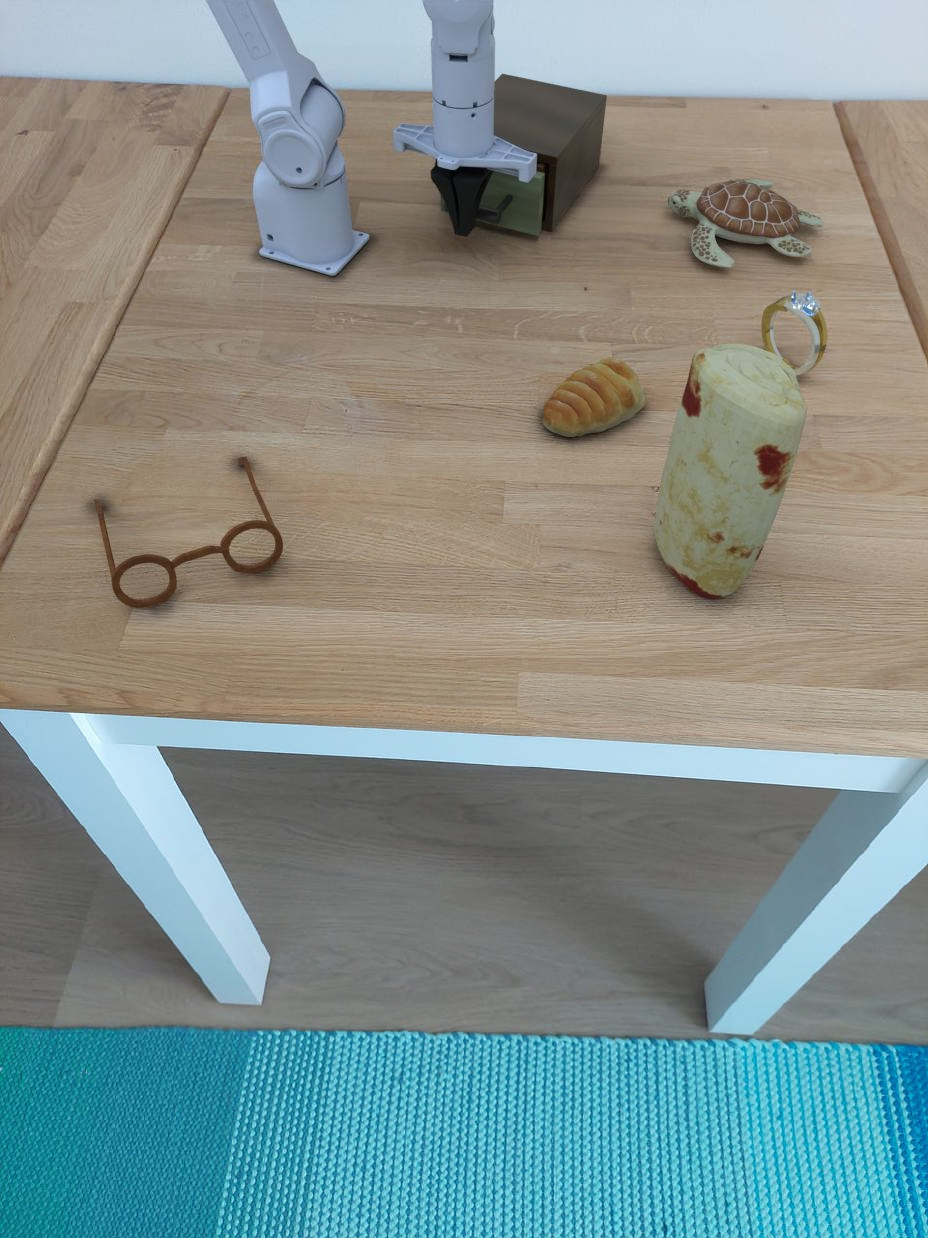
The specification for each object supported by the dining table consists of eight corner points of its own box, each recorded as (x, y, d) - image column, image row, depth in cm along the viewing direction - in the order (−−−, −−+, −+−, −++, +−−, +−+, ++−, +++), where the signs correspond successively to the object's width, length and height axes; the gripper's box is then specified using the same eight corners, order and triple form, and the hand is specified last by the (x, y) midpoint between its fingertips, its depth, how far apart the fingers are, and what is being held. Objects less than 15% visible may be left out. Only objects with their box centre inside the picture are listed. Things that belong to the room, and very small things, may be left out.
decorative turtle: (688, 175, 109) (697, 132, 105) (831, 207, 105) (845, 163, 101) (639, 257, 99) (646, 213, 95) (794, 296, 95) (808, 251, 91)
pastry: (573, 456, 82) (577, 423, 79) (523, 416, 85) (525, 383, 82) (649, 410, 85) (655, 377, 82) (598, 374, 88) (602, 340, 85)
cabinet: (551, 231, 103) (557, 156, 96) (447, 205, 106) (445, 131, 99) (599, 167, 110) (607, 94, 104) (500, 145, 114) (502, 72, 107)
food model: (625, 548, 76) (665, 344, 59) (687, 514, 78) (743, 308, 62) (706, 629, 71) (775, 432, 55) (771, 591, 73) (855, 389, 57)
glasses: (126, 618, 72) (105, 578, 68) (95, 504, 79) (74, 461, 75) (289, 565, 75) (279, 523, 71) (245, 460, 82) (233, 416, 78)
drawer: (519, 258, 98) (522, 200, 93) (421, 233, 101) (418, 175, 96) (582, 175, 108) (588, 118, 102) (491, 154, 111) (492, 98, 105)
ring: (817, 386, 87) (845, 313, 81) (789, 396, 86) (815, 323, 80) (772, 344, 91) (795, 270, 84) (745, 353, 90) (766, 280, 84)
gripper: (373, 97, 86) (384, 233, 97) (518, 130, 82) (512, 268, 93) (408, 65, 89) (416, 200, 100) (548, 95, 85) (540, 232, 96)
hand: (464, 230), depth 97 cm, fingers closed, pressing on drawer
